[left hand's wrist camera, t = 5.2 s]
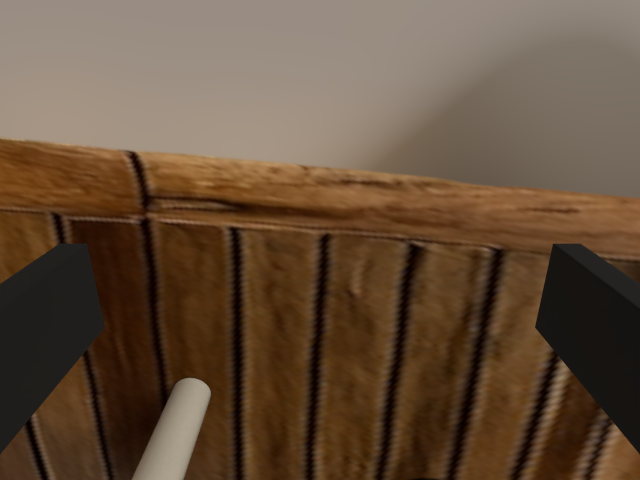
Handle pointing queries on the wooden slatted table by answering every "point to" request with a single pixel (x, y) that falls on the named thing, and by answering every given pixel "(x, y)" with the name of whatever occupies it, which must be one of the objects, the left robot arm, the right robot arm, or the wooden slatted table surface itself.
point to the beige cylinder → (175, 433)
